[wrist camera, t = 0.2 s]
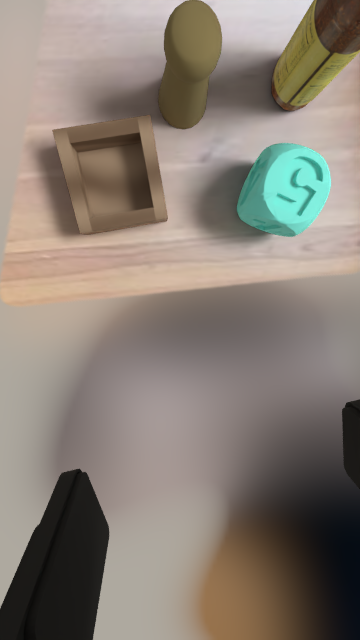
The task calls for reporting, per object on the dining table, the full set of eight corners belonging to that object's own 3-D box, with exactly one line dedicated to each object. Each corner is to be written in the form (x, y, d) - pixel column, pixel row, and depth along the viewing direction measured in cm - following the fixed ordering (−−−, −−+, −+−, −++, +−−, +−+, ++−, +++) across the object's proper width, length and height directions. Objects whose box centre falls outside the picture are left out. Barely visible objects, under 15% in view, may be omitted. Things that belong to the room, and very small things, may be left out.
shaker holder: (64, 143, 32) (52, 129, 28) (150, 129, 32) (150, 114, 29) (87, 234, 35) (80, 233, 31) (166, 221, 35) (167, 218, 32)
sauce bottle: (323, 70, 32) (565, -183, 13) (300, 123, 34) (487, -38, 15) (280, 42, 31) (477, -282, 12) (257, 98, 32) (401, -113, 13)
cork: (149, 108, 32) (146, 39, 21) (174, 58, 31) (184, -40, 20) (189, 139, 33) (206, 89, 22) (215, 93, 32) (245, 17, 21)
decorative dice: (230, 217, 36) (250, 209, 29) (253, 158, 34) (281, 132, 27) (279, 238, 38) (310, 235, 30) (303, 182, 36) (344, 164, 28)
